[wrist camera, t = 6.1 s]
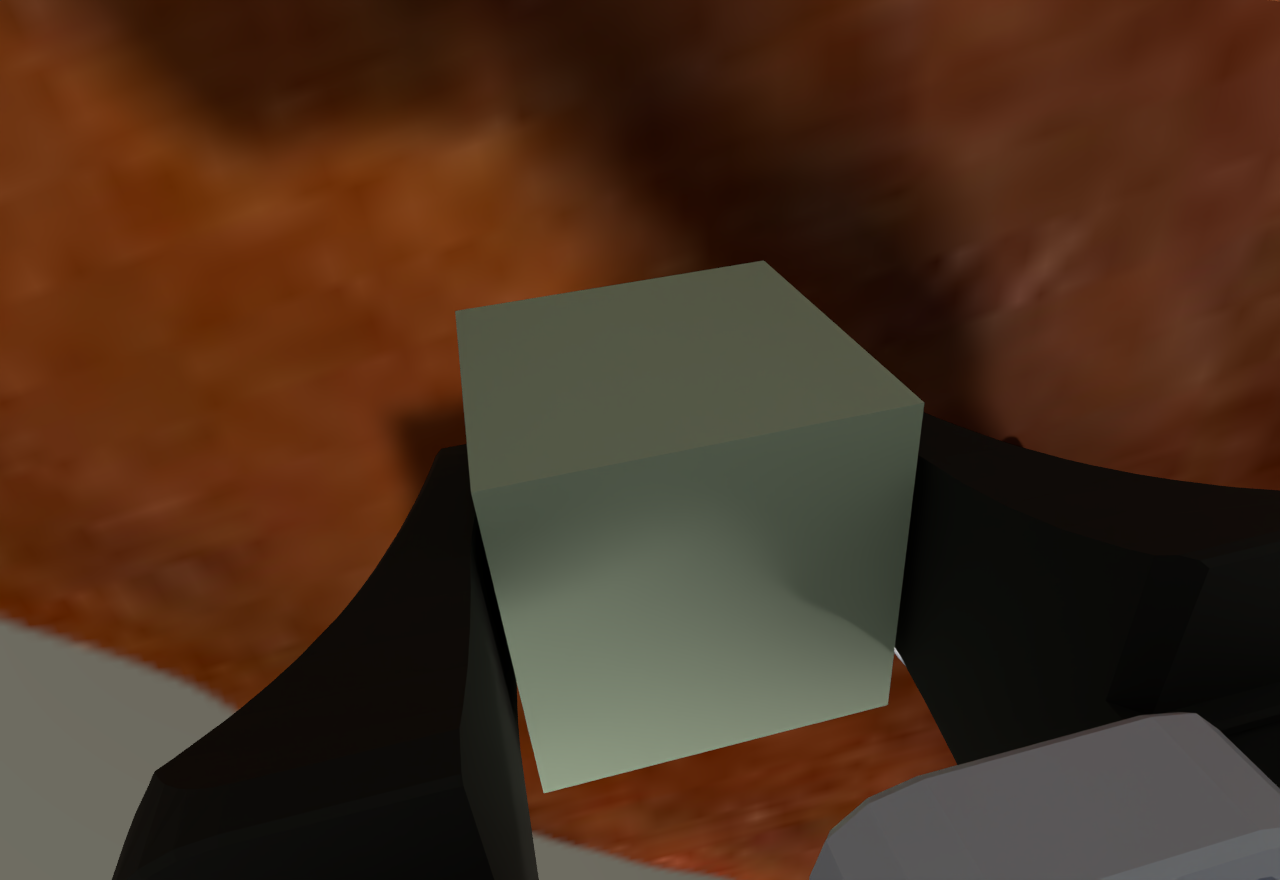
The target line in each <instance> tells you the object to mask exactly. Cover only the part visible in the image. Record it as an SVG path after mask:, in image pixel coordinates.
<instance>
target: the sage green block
mask: <svg viewBox="0 0 1280 880" xmlns="http://www.w3.org/2000/svg"><path fill="white" fill-rule="evenodd" d="M455 313H456V324H457V336H458V347H459V359H460V371H461V382H462V394H463V406H464V417H465V429H466V440H467V452H468V464H469V475H470V487H471V495H472V499H473V503H474V507H475V511H476V515H477V519H478V524H479V528H480V532H481V536H482V540H483V544H484V548H485V552H486V557H487V561H488V565H489V569H490V573H491V577H492V581H493V586H494V590H495V594H496V598H497V602H498V606H499V610H500V614H501V619H502V623H503V627H504V631H505V635H506V639H507V643H508V648H509V652H510V656H511V660H512V664H513V668H514V672H515V676H516V681H517V685H518V689H519V693H520V697H521V701H522V705H523V709H524V714H525V718H526V722H527V726H528V730H529V734H530V738H531V743H532V747H533V751H534V755H535V759H536V763H537V767H538V771H539V776H540V780H541V784H542V788H543V792H544V793H547V792H551V791H555V790H558V789H562V788H566V787H570V786H574V785H578V784H582V783H586V782H589V781H593V780H597V779H601V778H605V777H609V776H613V775H617V774H621V773H624V772H628V771H632V770H636V769H640V768H644V767H648V766H652V765H656V764H659V763H663V762H667V761H671V760H675V759H679V758H683V757H687V756H691V755H694V754H698V753H702V752H706V751H710V750H714V749H718V748H722V747H725V746H729V745H733V744H737V743H741V742H745V741H749V740H753V739H757V738H760V737H764V736H768V735H772V734H776V733H780V732H784V731H788V730H792V729H795V728H799V727H803V726H807V725H811V724H815V723H819V722H823V721H826V720H830V719H834V718H838V717H842V716H846V715H850V714H854V713H858V712H861V711H865V710H869V709H873V708H877V707H881V706H885V705H888V698H889V689H890V681H891V673H892V665H893V656H894V648H895V640H896V632H897V624H898V615H899V607H900V599H901V591H902V582H903V574H904V566H905V558H906V549H907V541H908V533H909V525H910V517H911V508H912V500H913V492H914V484H915V475H916V467H917V459H918V451H919V443H920V434H921V426H922V418H923V410H924V402H923V401H922V400H921V399H920V398H919V397H917V396H916V395H915V394H914V393H913V392H912V391H911V390H910V389H908V388H907V387H906V386H905V385H904V384H903V383H902V382H901V381H899V380H898V379H897V378H896V377H895V376H894V375H893V374H891V373H890V372H889V371H888V370H887V369H886V368H885V367H884V366H882V365H881V364H880V363H879V362H878V361H877V360H876V359H875V358H873V357H872V356H871V355H870V354H869V353H868V352H867V351H866V350H864V349H863V348H862V347H861V346H860V345H859V344H858V343H856V342H855V341H854V340H853V339H852V338H851V337H850V336H849V335H847V334H846V333H845V332H844V331H843V330H842V329H841V328H840V327H838V326H837V325H836V324H835V323H834V322H833V321H832V320H830V319H829V318H828V317H827V316H826V315H825V314H824V313H823V312H821V311H820V310H819V309H818V308H817V307H816V306H815V305H814V304H812V303H811V302H810V301H809V300H808V299H807V298H806V297H805V296H803V295H802V294H801V293H800V292H799V291H798V290H797V289H795V288H794V287H793V286H792V285H791V284H790V283H789V282H788V281H786V280H785V279H784V278H783V277H782V276H781V275H780V274H779V273H777V272H776V271H775V270H774V269H773V268H772V267H771V266H770V265H768V264H767V263H766V262H765V261H758V262H752V263H746V264H740V265H733V266H727V267H721V268H715V269H709V270H703V271H697V272H691V273H685V274H679V275H672V276H666V277H660V278H654V279H648V280H642V281H636V282H630V283H624V284H618V285H612V286H605V287H599V288H593V289H587V290H581V291H575V292H569V293H563V294H557V295H551V296H545V297H538V298H532V299H526V300H520V301H514V302H508V303H502V304H496V305H490V306H484V307H478V308H471V309H465V310H459V311H455Z"/></svg>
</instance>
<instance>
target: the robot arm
mask: <svg viewBox="0 0 1280 880" xmlns="http://www.w3.org/2000/svg"><path fill="white" fill-rule="evenodd" d="M894 653H895V654H896V655H897V657H898V658H899V659H900V660H901V661H902V662H903V663H904V665H905V666H906V667H907V669H908V671H909V673H910V675H911V676H912V678H913V680H914V682H915V684H916V686H917V687H918V689H919V691H920V693H921V695H922V697H923V698H924V700H925V702H926V704H927V706H928V708H929V710H930V712H931V714H932V716H933V718H934V719H935V721H936V723H937V725H938V727H939V729H940V731H941V733H942V735H943V737H944V739H945V741H946V743H947V745H948V747H949V749H950V751H951V753H952V755H953V757H954V759H955V761H956V763H957V766H953V767H949V768H946V769H942V770H938V771H935V772H931V773H927V774H924V775H920V776H917V777H914V778H912V779H910V780H908V781H905V782H903V783H901V784H899V785H896V786H894V787H892V788H889V789H887V790H885V791H883V792H880V793H878V794H876V795H874V796H871V797H869V798H867V799H866V800H865V801H864V802H863V803H861V804H860V805H859V806H858V807H857V808H856V809H855V810H853V811H852V812H851V813H850V814H849V815H848V816H846V817H845V818H844V819H843V820H842V821H841V822H839V823H838V824H837V825H836V826H835V827H834V828H833V829H831V830H830V832H829V834H828V837H827V839H826V841H825V843H824V846H823V848H822V850H821V852H820V854H819V857H818V859H817V861H816V863H815V866H814V868H813V870H812V873H811V875H810V880H1280V491H1279V490H1264V489H1250V488H1236V487H1226V486H1218V485H1210V484H1202V483H1194V482H1186V481H1178V480H1170V479H1164V478H1158V477H1151V476H1145V475H1139V474H1133V473H1128V472H1123V471H1118V470H1113V469H1108V468H1103V467H1098V466H1093V465H1088V464H1084V463H1079V462H1075V461H1071V460H1066V459H1062V458H1059V457H1055V456H1051V455H1048V454H1044V453H1040V452H1037V451H1033V450H1029V449H1026V448H1022V447H1019V446H1015V445H1012V444H1009V443H1006V442H1003V441H999V440H996V439H994V438H991V437H988V436H985V435H982V434H979V433H977V432H974V431H971V430H968V429H965V428H962V427H960V426H957V425H954V424H952V423H949V422H947V421H944V420H941V419H939V418H936V417H934V416H931V415H929V414H926V413H924V412H923V418H922V426H921V434H920V443H919V451H918V459H917V467H916V475H915V484H914V492H913V500H912V508H911V517H910V525H909V533H908V541H907V549H906V558H905V566H904V574H903V582H902V591H901V599H900V607H899V615H898V624H897V632H896V640H895V648H894ZM112 880H539V879H538V872H537V865H536V858H535V851H534V844H533V837H532V830H531V823H530V816H529V809H528V802H527V795H526V788H525V781H524V773H523V766H522V759H521V752H520V742H519V729H518V711H517V683H516V676H515V672H514V668H513V664H512V660H511V656H510V652H509V648H508V643H507V639H506V635H505V631H504V627H503V623H502V619H501V614H500V610H499V606H498V602H497V598H496V594H495V590H494V586H493V581H492V577H491V573H490V569H489V565H488V561H487V557H486V552H485V548H484V544H483V540H482V536H481V532H480V528H479V524H478V519H477V515H476V511H475V507H474V503H473V499H472V495H471V487H470V475H469V464H468V452H467V444H464V445H459V446H453V447H448V448H443V449H441V450H440V451H439V453H438V454H437V455H436V457H435V459H434V462H433V465H432V467H431V469H430V472H429V474H428V476H427V479H426V481H425V483H424V485H423V487H422V489H421V491H420V493H419V495H418V497H417V499H416V501H415V503H414V505H413V507H412V509H411V511H410V512H409V514H408V516H407V518H406V520H405V522H404V523H403V525H402V527H401V529H400V531H399V532H398V534H397V536H396V537H395V539H394V540H393V542H392V543H391V545H390V547H389V548H388V550H387V551H386V553H385V554H384V556H383V558H382V559H381V561H380V562H379V564H378V565H377V567H376V568H375V570H374V571H373V573H372V574H371V575H370V577H369V578H368V580H367V581H366V582H365V584H364V585H363V586H362V588H361V589H360V590H359V592H358V593H357V594H356V596H355V597H354V598H353V599H352V601H351V602H350V603H349V604H348V605H347V607H346V608H345V609H344V610H343V612H342V613H341V614H340V615H339V616H338V617H337V619H336V620H335V621H334V622H333V623H332V624H331V625H330V626H329V627H328V628H327V629H326V630H325V631H324V632H323V633H322V634H321V635H320V636H319V637H318V638H317V639H316V640H315V641H314V642H313V643H312V644H311V645H310V646H309V647H308V649H307V650H306V651H305V652H304V653H303V654H302V655H301V656H300V657H299V658H298V659H297V660H296V661H295V662H294V663H292V664H291V665H290V666H289V667H288V668H287V669H286V670H285V671H284V672H283V673H281V674H280V675H279V676H278V677H277V678H276V679H275V680H274V681H273V682H271V683H270V684H269V685H268V686H267V687H266V688H264V689H263V690H262V691H261V692H260V693H259V694H257V695H256V696H255V697H254V698H253V699H251V700H250V701H249V702H248V703H247V704H245V705H244V706H243V707H242V708H241V709H239V710H238V711H237V712H236V713H234V714H233V715H232V716H230V717H229V718H228V719H227V720H225V721H224V722H223V723H221V724H220V725H219V726H217V727H216V728H214V729H213V730H212V731H210V732H209V733H208V734H206V735H205V736H204V737H202V738H201V739H200V740H198V741H197V742H195V743H194V744H193V745H191V746H190V747H189V748H187V749H186V750H184V751H183V752H182V753H181V754H179V755H178V756H176V757H175V758H174V759H172V760H171V761H169V762H168V763H166V764H165V765H164V766H162V767H160V768H159V769H158V770H156V771H155V772H154V774H153V776H152V779H151V781H150V784H149V786H148V788H147V790H146V792H145V794H144V797H143V799H142V801H141V803H140V805H139V807H138V809H137V811H136V814H135V816H134V819H133V821H132V824H131V826H130V829H129V832H128V835H127V837H126V840H125V842H124V845H123V849H122V851H121V854H120V857H119V860H118V863H117V866H116V870H115V872H114V875H113V878H112Z"/></svg>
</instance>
